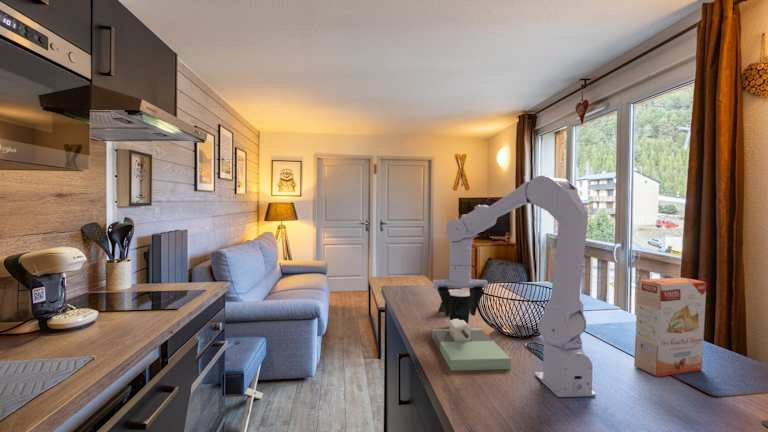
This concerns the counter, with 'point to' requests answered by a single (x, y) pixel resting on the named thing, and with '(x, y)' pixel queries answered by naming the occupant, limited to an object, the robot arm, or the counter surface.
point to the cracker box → (670, 325)
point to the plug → (459, 330)
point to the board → (471, 351)
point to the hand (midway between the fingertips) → (459, 314)
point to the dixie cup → (459, 304)
